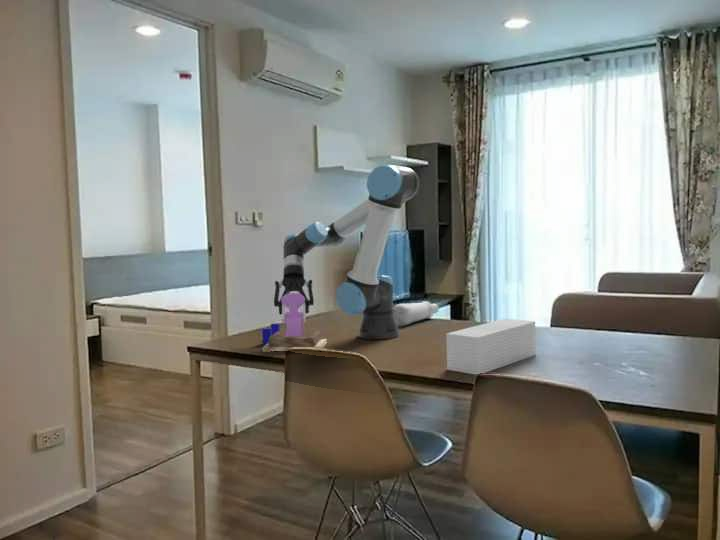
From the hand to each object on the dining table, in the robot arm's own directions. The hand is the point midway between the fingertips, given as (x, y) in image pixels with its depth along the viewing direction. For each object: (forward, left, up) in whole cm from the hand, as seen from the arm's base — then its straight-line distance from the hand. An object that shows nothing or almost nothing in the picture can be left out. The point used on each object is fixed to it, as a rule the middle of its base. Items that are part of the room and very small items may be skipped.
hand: (294, 320), depth 217 cm
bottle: (-42, -54, -10) cm, 69 cm away
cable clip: (+12, -14, -10) cm, 21 cm away
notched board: (0, -2, -10) cm, 10 cm away
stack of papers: (-65, +23, -10) cm, 70 cm away
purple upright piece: (0, -4, -6) cm, 7 cm away
